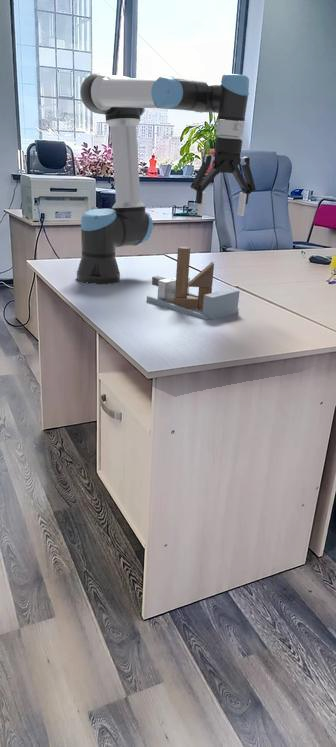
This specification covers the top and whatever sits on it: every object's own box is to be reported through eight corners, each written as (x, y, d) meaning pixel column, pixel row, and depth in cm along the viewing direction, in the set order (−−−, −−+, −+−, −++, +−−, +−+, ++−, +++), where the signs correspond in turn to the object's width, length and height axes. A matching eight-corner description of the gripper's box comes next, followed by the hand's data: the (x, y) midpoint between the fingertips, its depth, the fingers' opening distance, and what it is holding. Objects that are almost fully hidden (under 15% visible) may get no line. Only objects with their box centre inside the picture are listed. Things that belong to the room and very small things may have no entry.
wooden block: (210, 311, 158) (215, 250, 152) (173, 310, 158) (177, 248, 151) (208, 308, 162) (214, 248, 155) (173, 306, 162) (177, 246, 155)
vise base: (146, 302, 164) (147, 278, 161) (178, 295, 173) (179, 272, 170) (207, 324, 148) (209, 298, 145) (238, 315, 158) (241, 290, 154)
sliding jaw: (141, 297, 167) (142, 275, 165) (166, 292, 174) (167, 270, 172) (164, 305, 161) (165, 282, 158) (188, 299, 168) (190, 277, 165)
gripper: (195, 135, 142) (188, 217, 151) (274, 140, 152) (263, 217, 161) (183, 133, 148) (177, 212, 158) (259, 139, 158) (249, 213, 167)
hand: (220, 215), depth 159 cm, fingers open, 13 cm apart
